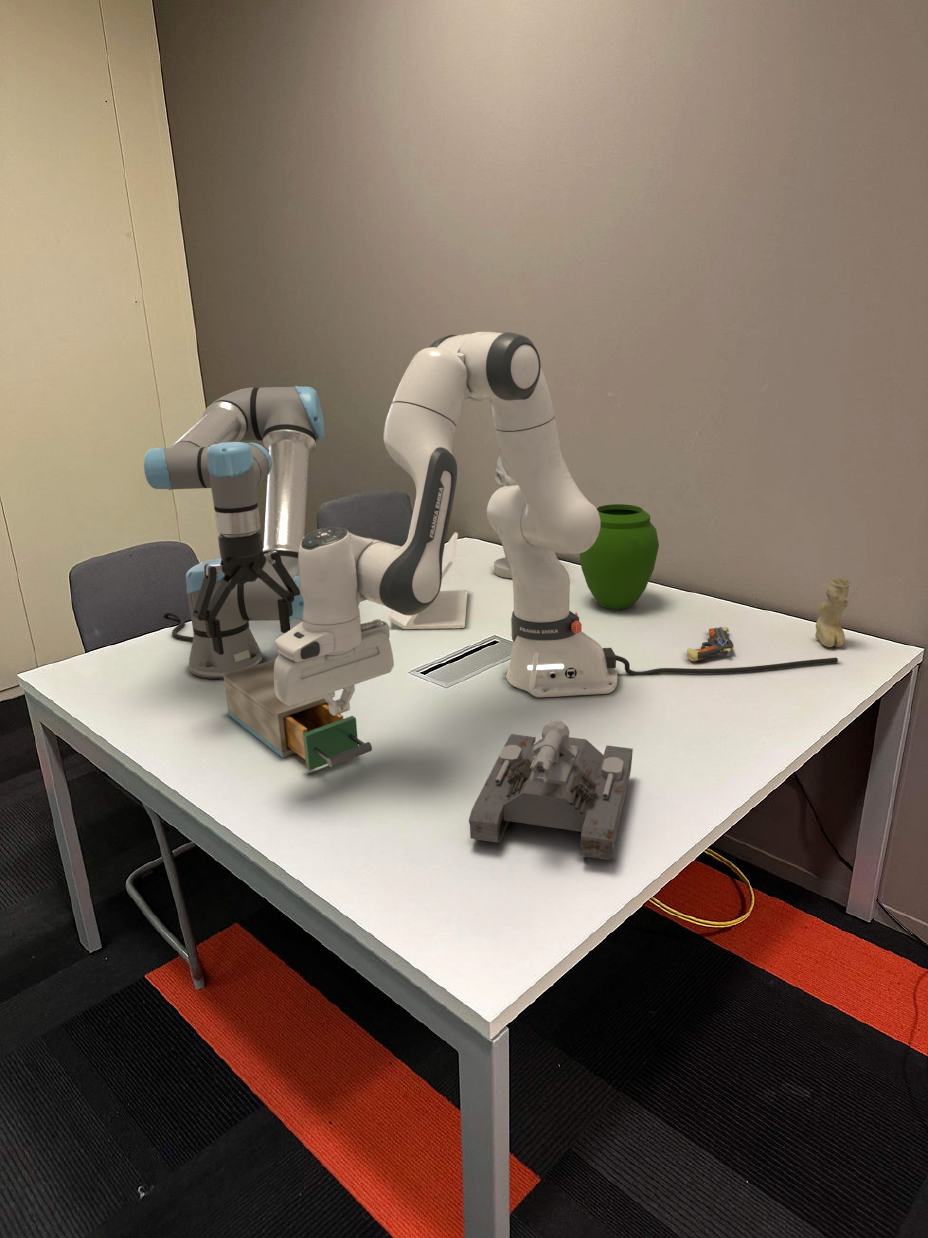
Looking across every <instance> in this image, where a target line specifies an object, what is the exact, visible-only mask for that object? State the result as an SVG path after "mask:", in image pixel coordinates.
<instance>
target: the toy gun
mask: <svg viewBox="0 0 928 1238" xmlns="http://www.w3.org/2000/svg"><path fill="white" fill-rule="evenodd" d="M729 632H730V628H729V627H727V626H719V627H712V628H711V627H710V628H709V629H708V635H709V638H707V641H704V642H701V646H700V648H695V649H693V648H692V647H689V648H687V649H686V652H687V653H686V654H687V658H688V659H689V661H690V662H697V661H700V660H703V659H707V658H708V659H709V658H711V657H713V656H718V655H720V654H722V653H725V652H728V653H730V652H731V650H732V649H735V646H734V643H733V641H732V640H731V639H730V636H729V634H728V633H729Z"/></svg>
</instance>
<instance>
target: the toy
mask: <svg viewBox="0 0 928 1238" xmlns="http://www.w3.org/2000/svg"><path fill="white" fill-rule="evenodd" d="M536 738H537V737H536V736H532V735H531V736H530V735H523V734H515V733H511V734H510V735H509V736H508V738H507V740H506V742H505V744H504V746H503V748H502V750H501V751H500V753H499V755H498V757H497V760H496V761H495V764H494V765H493V767H492V769H491V771H490V773H489V775H488V777H487V779H486V781H485V783H484V784H483V787H482V788H481V790H480V793H479V795H478V796H477V798H476V800H475V802H474V805H473V806H472V808H471V811H470V814H469V816H468V817H469V818H468V824H469V837H470V840H471V839H472V840H477V841H482V842H489V843H497V844H501V842H502V840H503V838H504V835H505V833H506V831H507V829H508V826H509V824H510V822H512V823H519V824H525V825H532V826H540V827H546V828H552V829H553V828H554V829H560V830H566V831H567V830H568V831H574V832H581V834H580V856H581V857H587V858H593V859H600V860H607V861H610V860H611V854H613V853H614V847H615V843H616V839H617V834H618V829H619V825H620V822H621V817H622V812H623V808H624V803H625V799H626V794H627V790H628V785H629V781H630V776H631V772H632V764H633V752H634V748H631V747H623V746H614V745H606V746H605V747H604V748H605V749H604V752H603V753H602V752H601V751H600V750H599V749H598V748H596V747H595V746H594V745H593V743H592V742H589V740H588V739H586V738H579V737H570V729H569V727H568V726H567V724H566V723H565V722H564V721H562V720H553V719H551V720H550V721H548V723H546V724H544V726H543V727H542V730H541V739H539V740H538V741H537V739H536Z"/></svg>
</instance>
